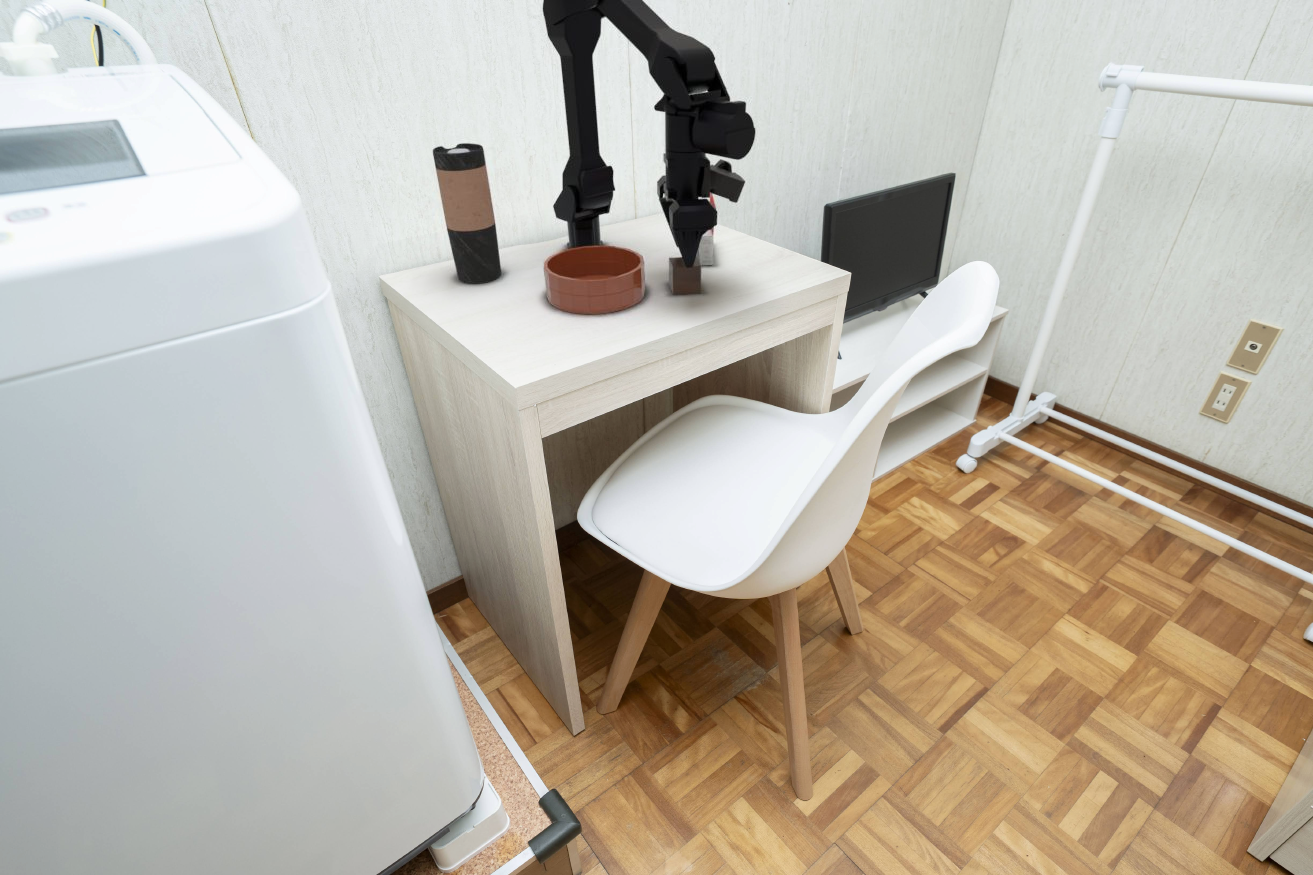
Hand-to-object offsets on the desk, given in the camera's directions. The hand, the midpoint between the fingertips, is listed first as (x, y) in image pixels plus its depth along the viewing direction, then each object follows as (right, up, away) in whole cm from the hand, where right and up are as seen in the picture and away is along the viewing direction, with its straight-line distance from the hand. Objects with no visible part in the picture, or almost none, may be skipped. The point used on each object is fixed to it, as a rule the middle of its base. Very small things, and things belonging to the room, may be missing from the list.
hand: (684, 257), depth 103 cm
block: (0, -4, +3) cm, 5 cm away
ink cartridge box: (+4, +4, +16) cm, 17 cm away
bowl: (-14, -5, +2) cm, 15 cm away
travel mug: (-34, -1, +9) cm, 35 cm away
